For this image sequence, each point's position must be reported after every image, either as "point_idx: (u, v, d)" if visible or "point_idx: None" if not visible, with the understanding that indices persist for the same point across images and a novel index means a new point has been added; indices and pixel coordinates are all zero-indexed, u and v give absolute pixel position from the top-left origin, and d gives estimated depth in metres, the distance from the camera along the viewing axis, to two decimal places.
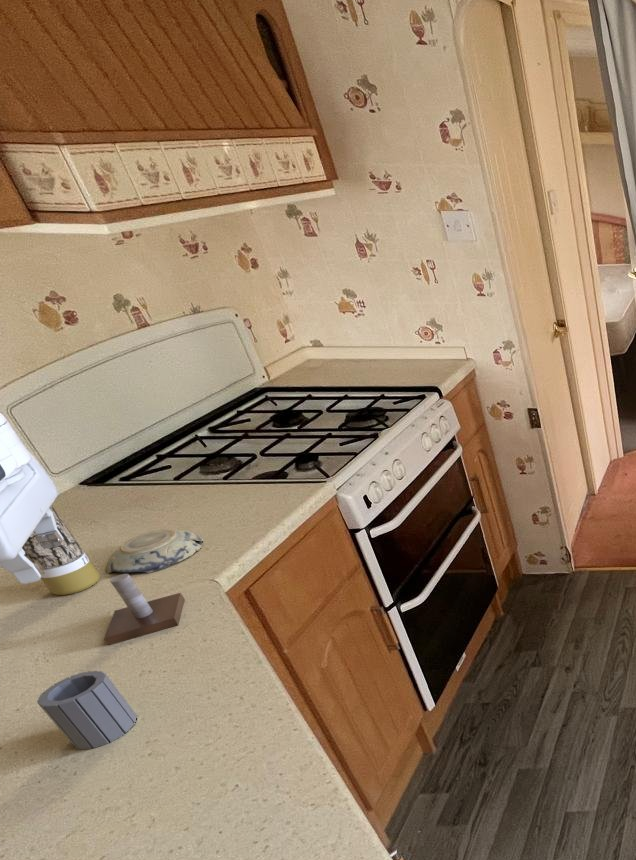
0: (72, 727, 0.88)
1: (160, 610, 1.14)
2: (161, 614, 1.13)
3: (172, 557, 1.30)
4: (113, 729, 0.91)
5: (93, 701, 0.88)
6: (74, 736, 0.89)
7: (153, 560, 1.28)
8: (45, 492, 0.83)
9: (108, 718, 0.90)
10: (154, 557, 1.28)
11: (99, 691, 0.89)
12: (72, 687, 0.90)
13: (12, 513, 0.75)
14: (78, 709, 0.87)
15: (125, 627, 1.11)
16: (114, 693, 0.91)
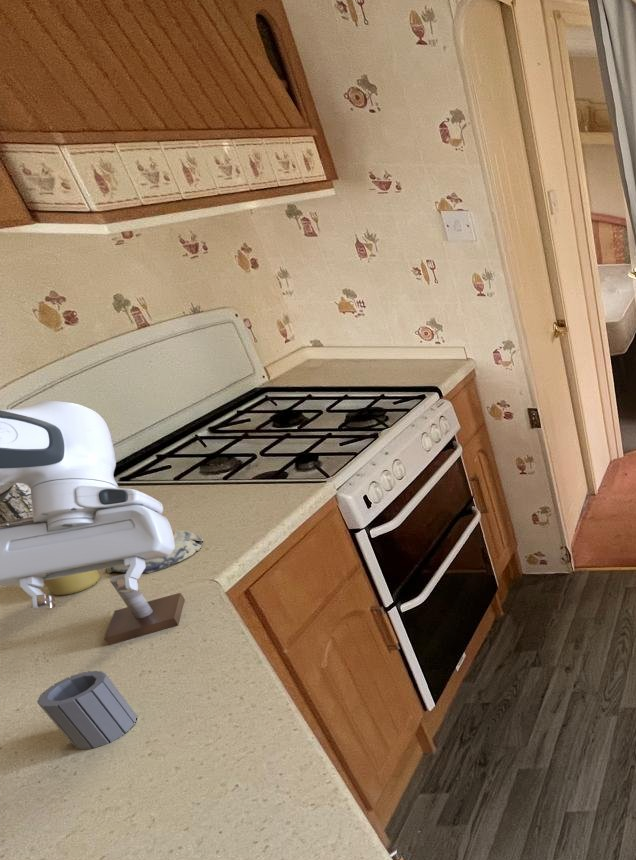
0: (72, 727, 0.88)
1: (160, 610, 1.14)
2: (161, 614, 1.13)
3: (172, 557, 1.30)
4: (113, 729, 0.91)
5: (93, 701, 0.88)
6: (74, 736, 0.89)
7: (153, 560, 1.28)
8: None
9: (108, 718, 0.90)
10: None
11: (99, 691, 0.89)
12: (72, 687, 0.90)
13: None
14: (78, 709, 0.87)
15: (125, 627, 1.11)
16: (114, 693, 0.91)
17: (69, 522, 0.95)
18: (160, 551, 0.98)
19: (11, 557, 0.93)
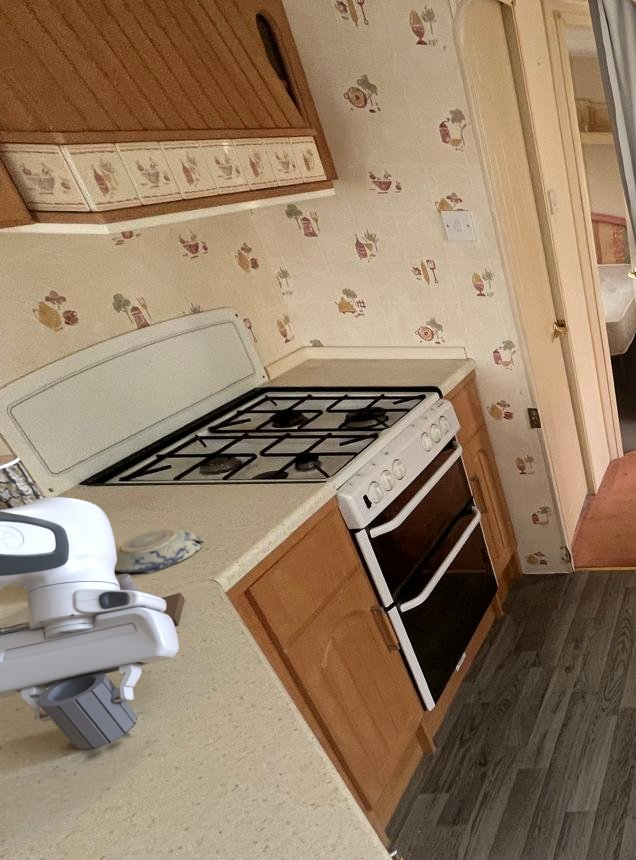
0: (72, 727, 0.88)
1: None
2: None
3: (172, 557, 1.30)
4: (113, 729, 0.91)
5: (93, 701, 0.88)
6: (74, 736, 0.89)
7: (153, 560, 1.28)
8: None
9: (108, 718, 0.90)
10: (154, 557, 1.28)
11: (99, 691, 0.89)
12: (72, 687, 0.90)
13: None
14: (78, 709, 0.87)
15: None
16: None
17: (67, 629, 0.90)
18: (163, 655, 0.93)
19: (6, 668, 0.88)
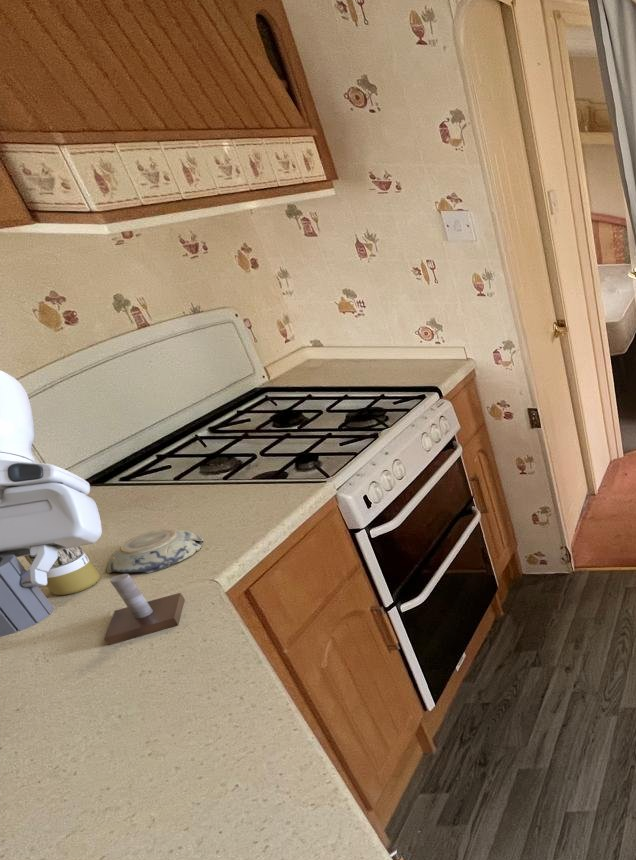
0: None
1: (160, 610, 1.14)
2: (161, 614, 1.13)
3: (172, 557, 1.30)
4: (22, 617, 0.81)
5: None
6: None
7: (153, 560, 1.28)
8: None
9: (16, 603, 0.80)
10: (154, 557, 1.28)
11: (5, 571, 0.79)
12: None
13: None
14: None
15: (125, 627, 1.11)
16: None
17: None
18: (82, 537, 0.83)
19: None
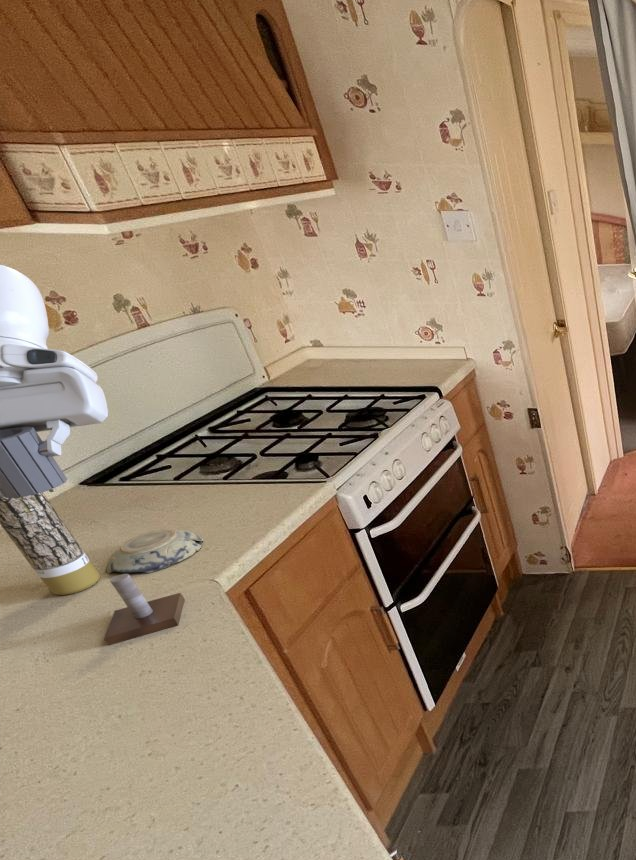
0: None
1: (160, 610, 1.14)
2: (161, 614, 1.13)
3: (172, 557, 1.30)
4: (40, 481, 0.94)
5: (19, 447, 0.91)
6: (1, 482, 0.91)
7: (153, 560, 1.28)
8: None
9: (35, 468, 0.93)
10: (154, 557, 1.28)
11: (25, 438, 0.92)
12: (0, 439, 0.93)
13: None
14: (3, 451, 0.90)
15: (125, 627, 1.11)
16: None
17: None
18: (91, 414, 0.96)
19: None
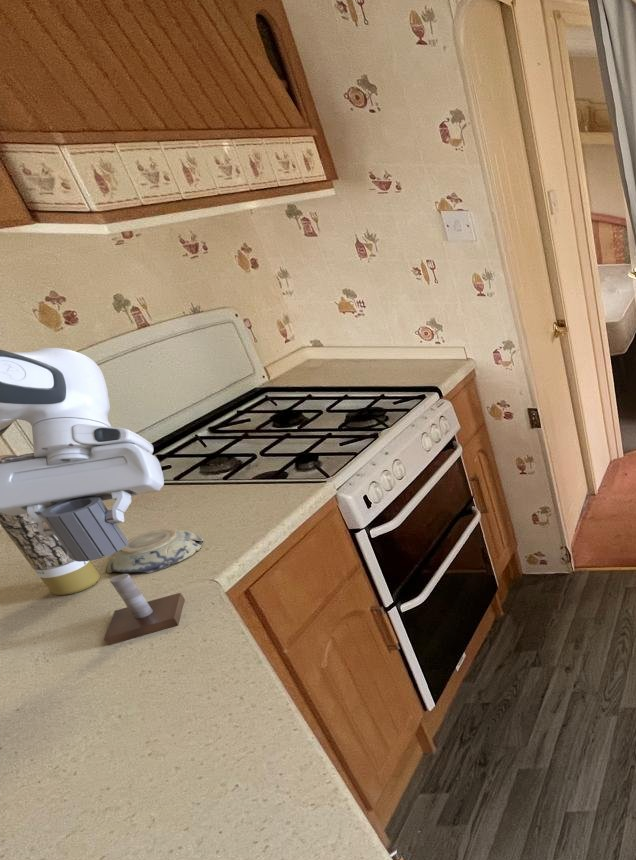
0: (71, 538, 1.02)
1: (160, 610, 1.14)
2: (161, 614, 1.13)
3: (172, 557, 1.30)
4: (106, 545, 1.05)
5: (89, 517, 1.03)
6: (73, 548, 1.03)
7: (153, 560, 1.28)
8: None
9: (102, 535, 1.04)
10: (154, 557, 1.28)
11: (94, 509, 1.03)
12: (71, 508, 1.05)
13: None
14: (76, 522, 1.01)
15: (125, 627, 1.11)
16: None
17: (67, 457, 1.04)
18: (150, 485, 1.07)
19: (14, 487, 1.02)
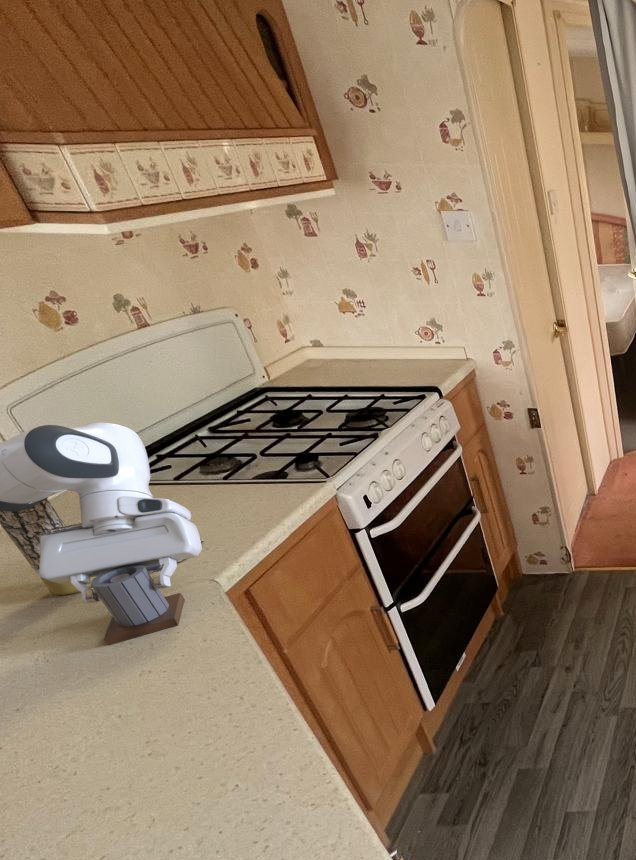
0: (118, 606, 1.09)
1: None
2: None
3: None
4: (150, 611, 1.12)
5: (135, 585, 1.09)
6: (119, 614, 1.10)
7: None
8: None
9: (146, 601, 1.11)
10: None
11: (139, 578, 1.10)
12: None
13: None
14: (123, 591, 1.08)
15: (125, 627, 1.11)
16: (151, 582, 1.12)
17: (112, 527, 1.10)
18: (189, 552, 1.14)
19: (63, 557, 1.08)
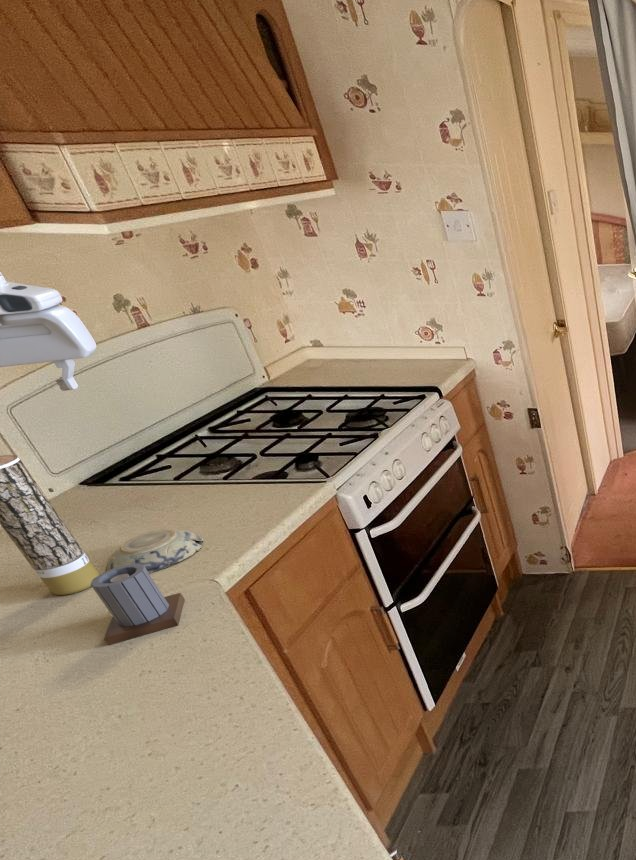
0: (118, 606, 1.09)
1: None
2: None
3: (172, 557, 1.30)
4: (150, 611, 1.12)
5: (135, 585, 1.09)
6: (119, 614, 1.10)
7: (153, 560, 1.28)
8: None
9: (146, 601, 1.11)
10: (154, 557, 1.28)
11: (139, 578, 1.10)
12: None
13: None
14: (123, 591, 1.08)
15: (125, 627, 1.11)
16: (151, 582, 1.12)
17: None
18: None
19: None
